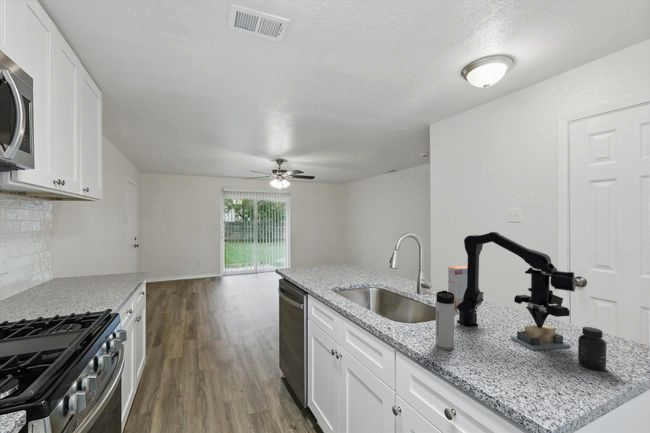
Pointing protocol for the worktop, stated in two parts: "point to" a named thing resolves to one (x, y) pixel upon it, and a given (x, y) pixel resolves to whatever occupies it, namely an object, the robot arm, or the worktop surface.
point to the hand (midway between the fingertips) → (539, 327)
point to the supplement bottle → (592, 349)
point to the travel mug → (445, 320)
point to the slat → (541, 333)
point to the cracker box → (457, 283)
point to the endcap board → (535, 342)
